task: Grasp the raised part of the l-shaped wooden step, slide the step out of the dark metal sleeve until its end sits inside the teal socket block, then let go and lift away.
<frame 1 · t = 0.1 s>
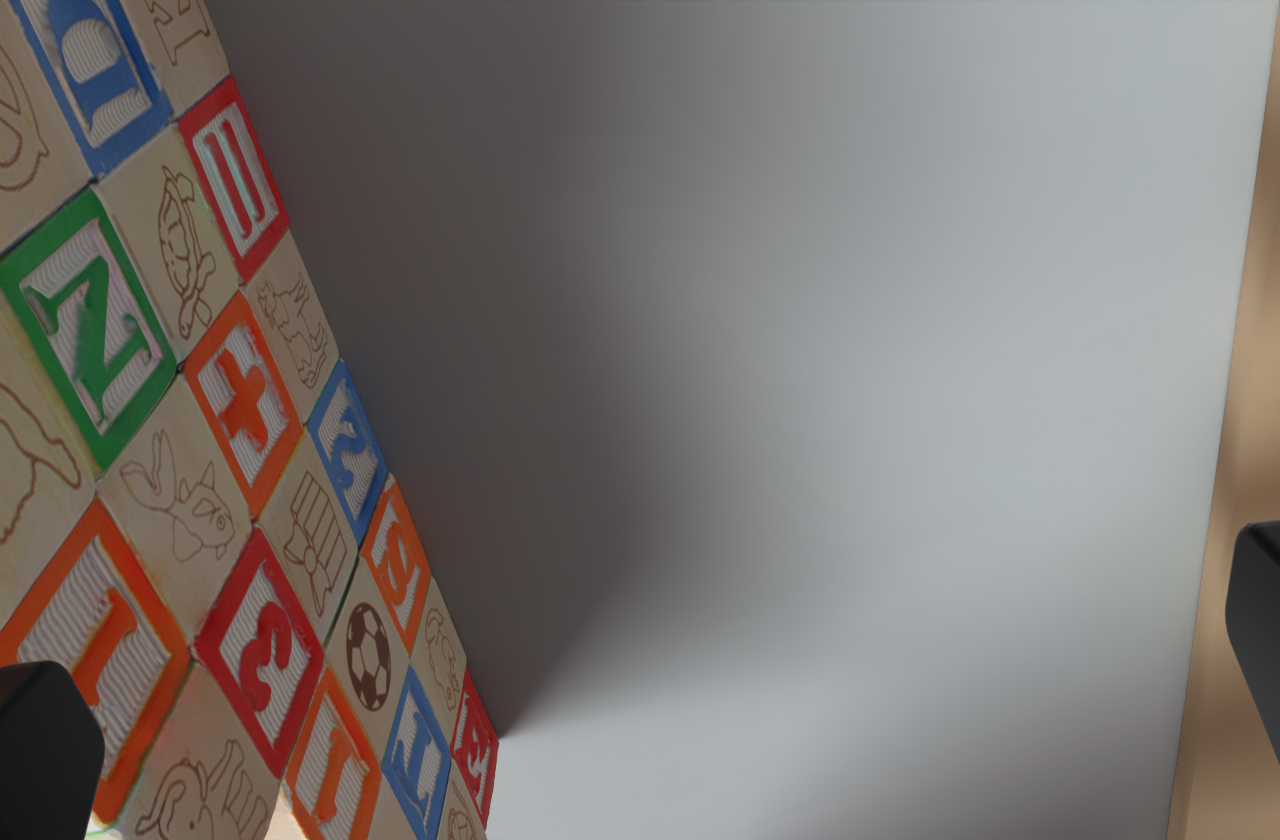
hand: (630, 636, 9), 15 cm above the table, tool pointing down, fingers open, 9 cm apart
stack of blocks: (244, 429, 26), on the table
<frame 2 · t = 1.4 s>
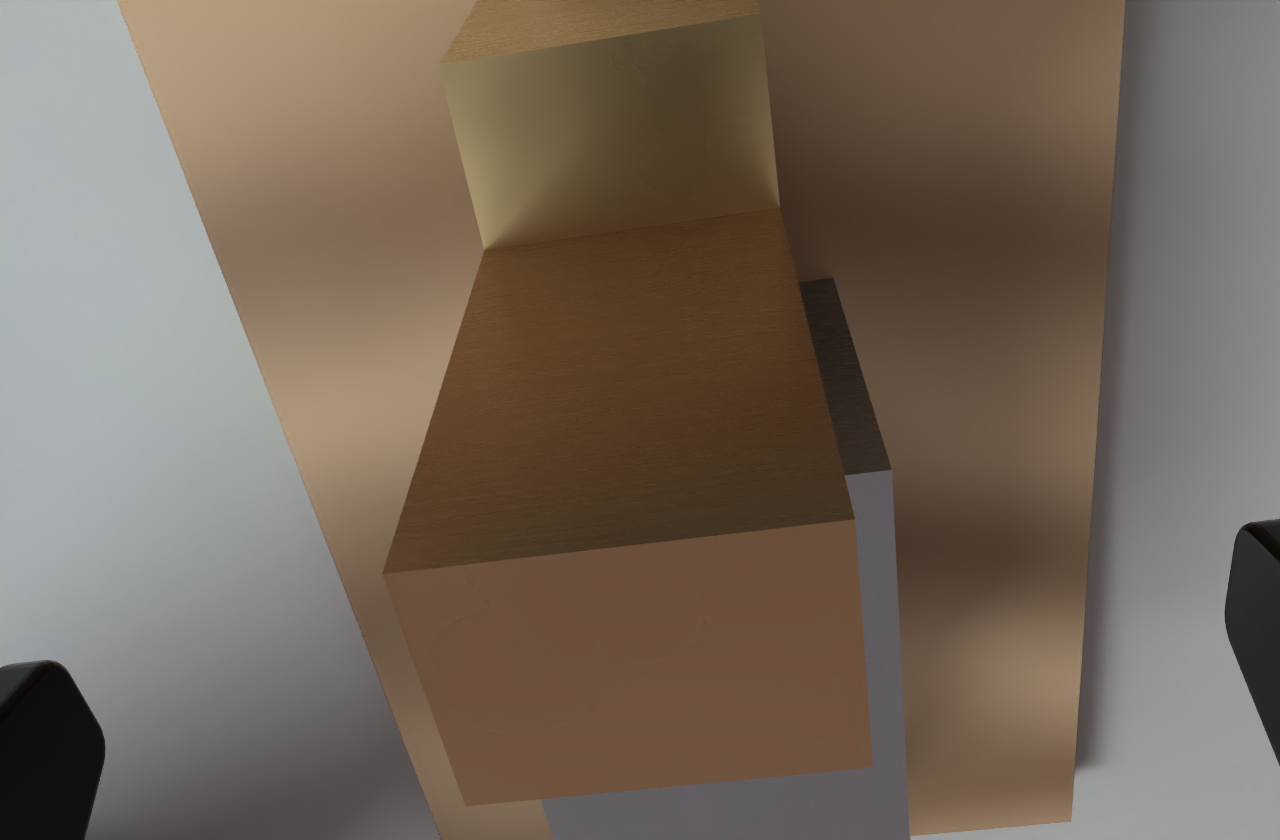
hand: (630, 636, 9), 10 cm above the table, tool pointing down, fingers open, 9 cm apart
l-shaped wooden step: (709, 726, 15), point 6 cm above the table, slide at 0.0 cm
sleeve: (704, 534, 19), resting on base board
base board: (657, 213, 17), on the table
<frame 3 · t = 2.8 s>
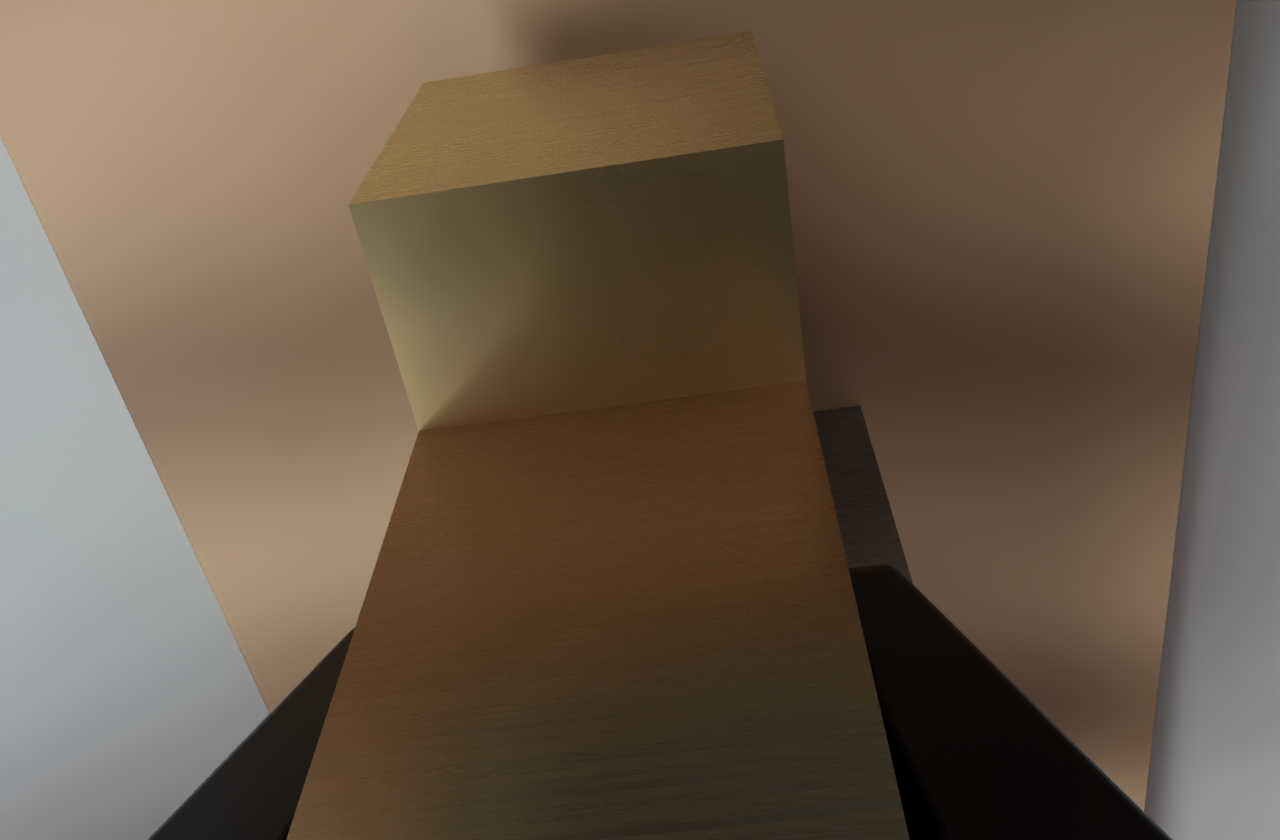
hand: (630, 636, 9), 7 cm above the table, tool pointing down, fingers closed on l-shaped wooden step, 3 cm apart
sleeve: (705, 687, 17), resting on base board
base board: (647, 324, 15), on the table
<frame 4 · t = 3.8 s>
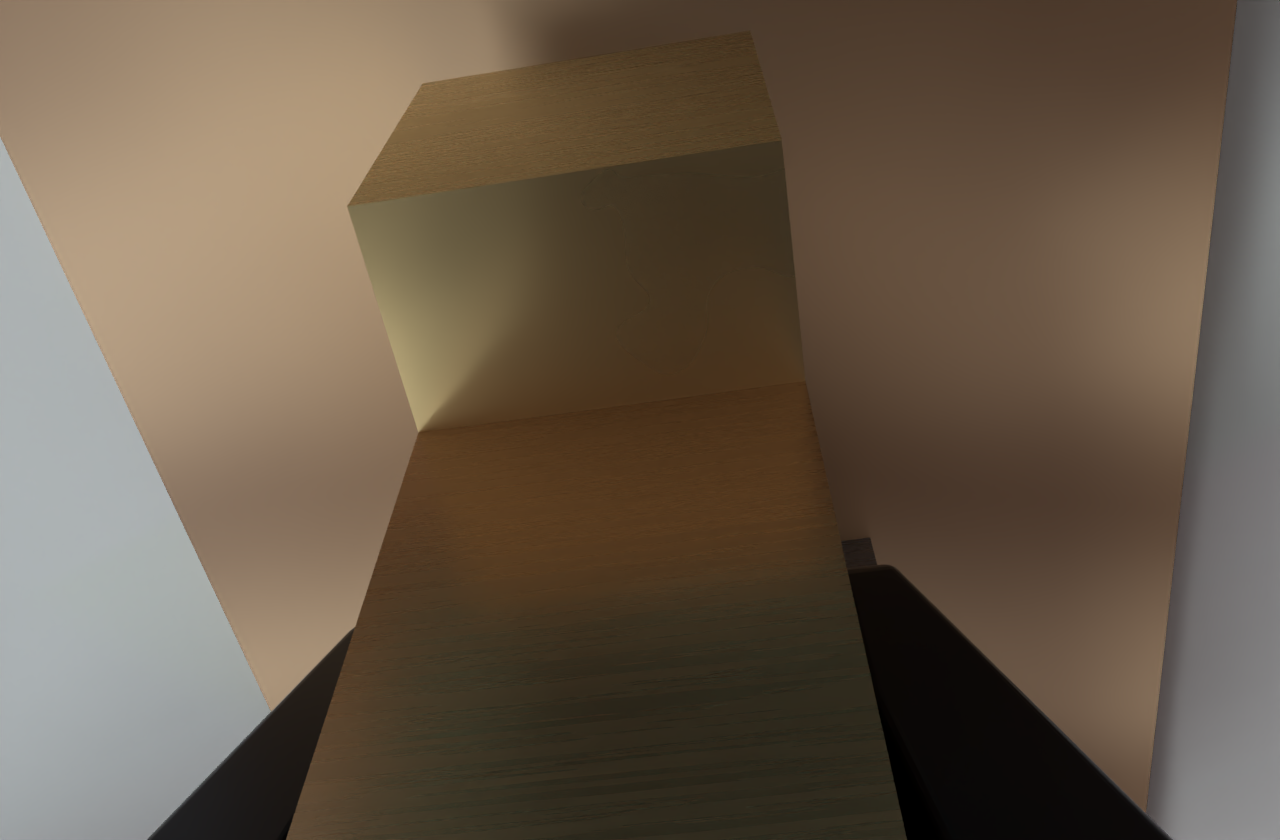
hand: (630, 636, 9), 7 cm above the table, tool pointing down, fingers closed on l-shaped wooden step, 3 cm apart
sleeve: (724, 782, 18), resting on base board
base board: (672, 457, 16), on the table
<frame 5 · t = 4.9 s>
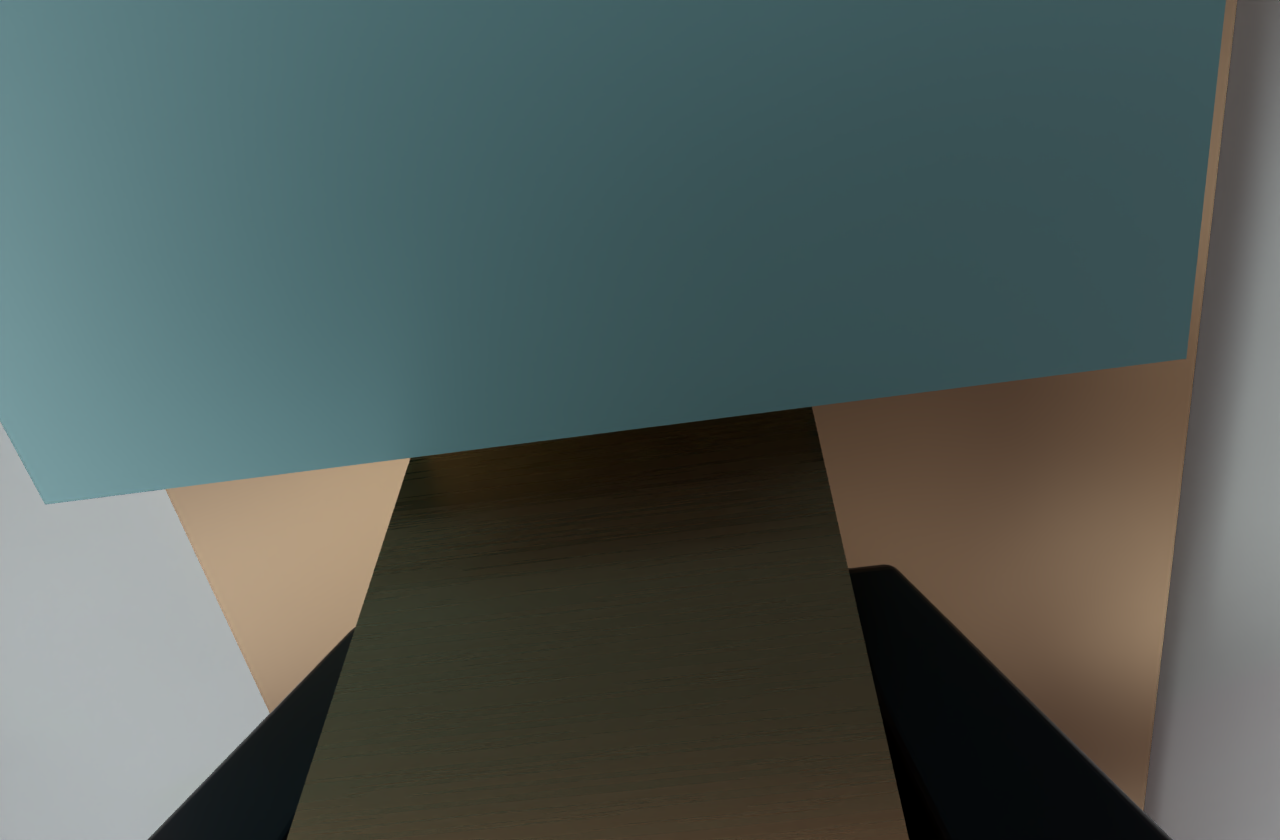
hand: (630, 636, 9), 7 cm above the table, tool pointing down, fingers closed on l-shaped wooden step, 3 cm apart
socket block: (583, 1, 12), resting on base board
base board: (712, 696, 18), on the table
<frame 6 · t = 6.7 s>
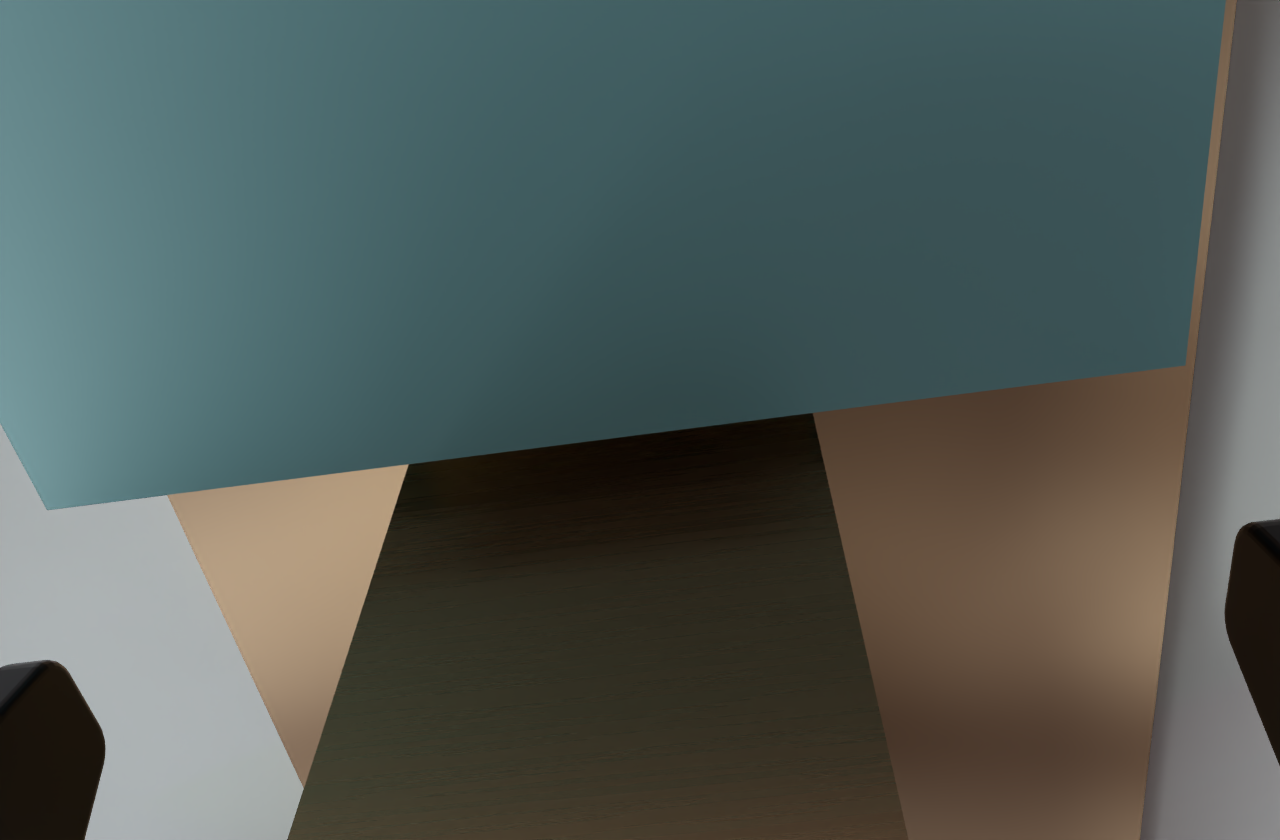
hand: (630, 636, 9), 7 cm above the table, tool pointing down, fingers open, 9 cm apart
socket block: (584, 6, 12), resting on base board
base board: (712, 698, 18), on the table
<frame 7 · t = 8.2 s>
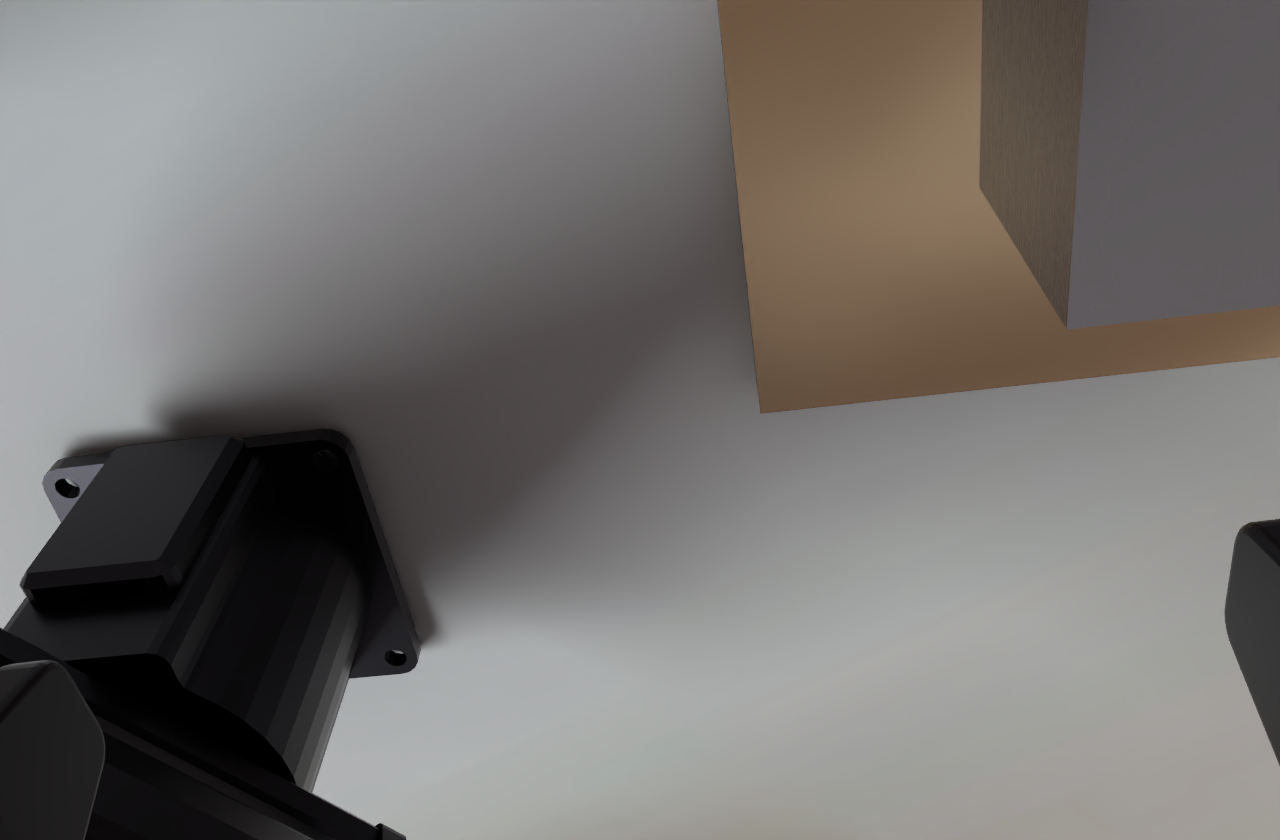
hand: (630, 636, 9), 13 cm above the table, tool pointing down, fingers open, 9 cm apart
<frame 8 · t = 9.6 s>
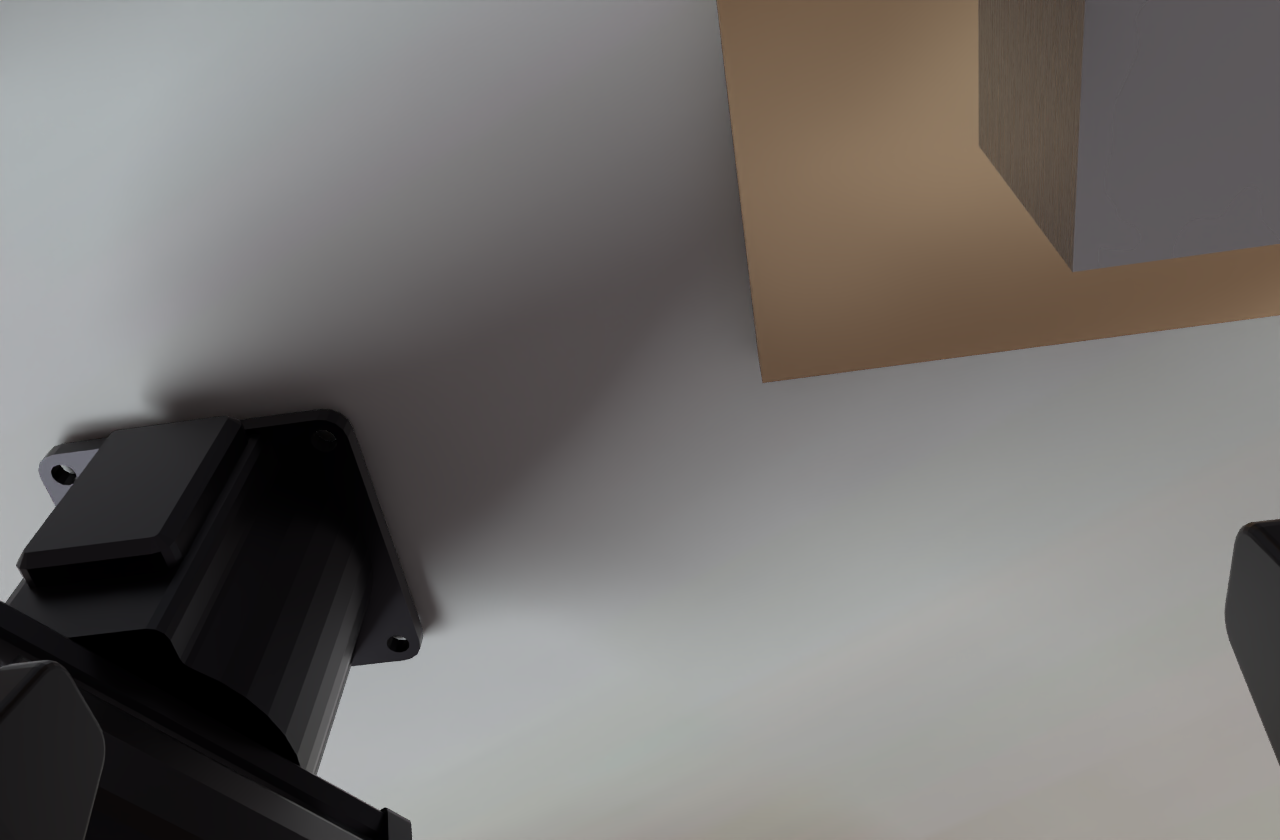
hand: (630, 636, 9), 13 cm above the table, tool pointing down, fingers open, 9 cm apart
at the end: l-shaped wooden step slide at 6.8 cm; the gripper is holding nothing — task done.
